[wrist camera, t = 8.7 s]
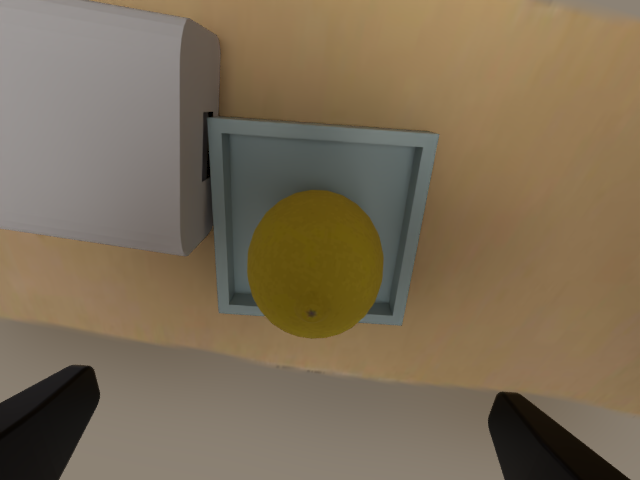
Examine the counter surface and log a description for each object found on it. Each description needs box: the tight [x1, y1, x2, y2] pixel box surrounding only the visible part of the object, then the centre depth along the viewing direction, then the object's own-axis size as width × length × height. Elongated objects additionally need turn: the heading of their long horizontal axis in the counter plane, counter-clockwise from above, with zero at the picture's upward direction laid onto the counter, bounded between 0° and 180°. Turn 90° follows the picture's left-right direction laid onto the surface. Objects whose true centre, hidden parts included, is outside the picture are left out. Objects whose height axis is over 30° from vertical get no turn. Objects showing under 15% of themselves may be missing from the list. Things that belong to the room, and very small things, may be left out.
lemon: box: [247, 190, 384, 339], centre depth 14 cm, size 6×6×8 cm
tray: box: [207, 116, 439, 326], centre depth 17 cm, size 10×10×2 cm
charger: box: [0, 0, 221, 256], centre depth 14 cm, size 5×9×15 cm
